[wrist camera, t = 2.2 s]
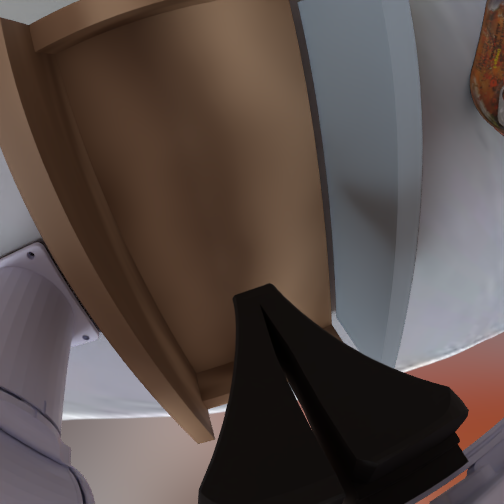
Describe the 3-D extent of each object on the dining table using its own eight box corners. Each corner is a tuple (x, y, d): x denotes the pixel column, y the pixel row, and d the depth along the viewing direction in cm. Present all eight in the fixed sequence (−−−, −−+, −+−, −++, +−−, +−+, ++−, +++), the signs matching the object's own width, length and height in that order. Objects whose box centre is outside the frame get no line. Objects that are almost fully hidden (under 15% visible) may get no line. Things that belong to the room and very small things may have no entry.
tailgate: (336, 317, 23) (377, 379, 18) (297, 2, 11) (375, -24, 6) (355, 309, 23) (398, 368, 18) (328, 1, 11) (413, -18, 6)
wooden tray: (182, 366, 24) (198, 443, 18) (40, 46, 10) (-30, 38, 5) (321, 317, 25) (362, 384, 19) (267, -20, 12) (335, -63, 6)
